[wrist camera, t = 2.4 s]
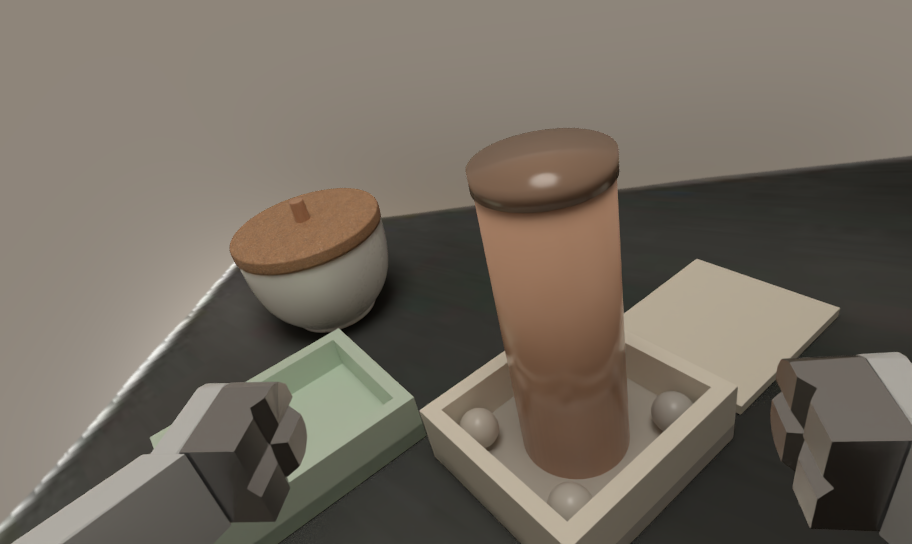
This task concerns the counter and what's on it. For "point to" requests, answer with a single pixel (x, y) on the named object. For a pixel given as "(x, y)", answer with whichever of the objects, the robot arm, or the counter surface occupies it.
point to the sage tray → (333, 430)
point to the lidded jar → (315, 258)
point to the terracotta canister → (558, 291)
